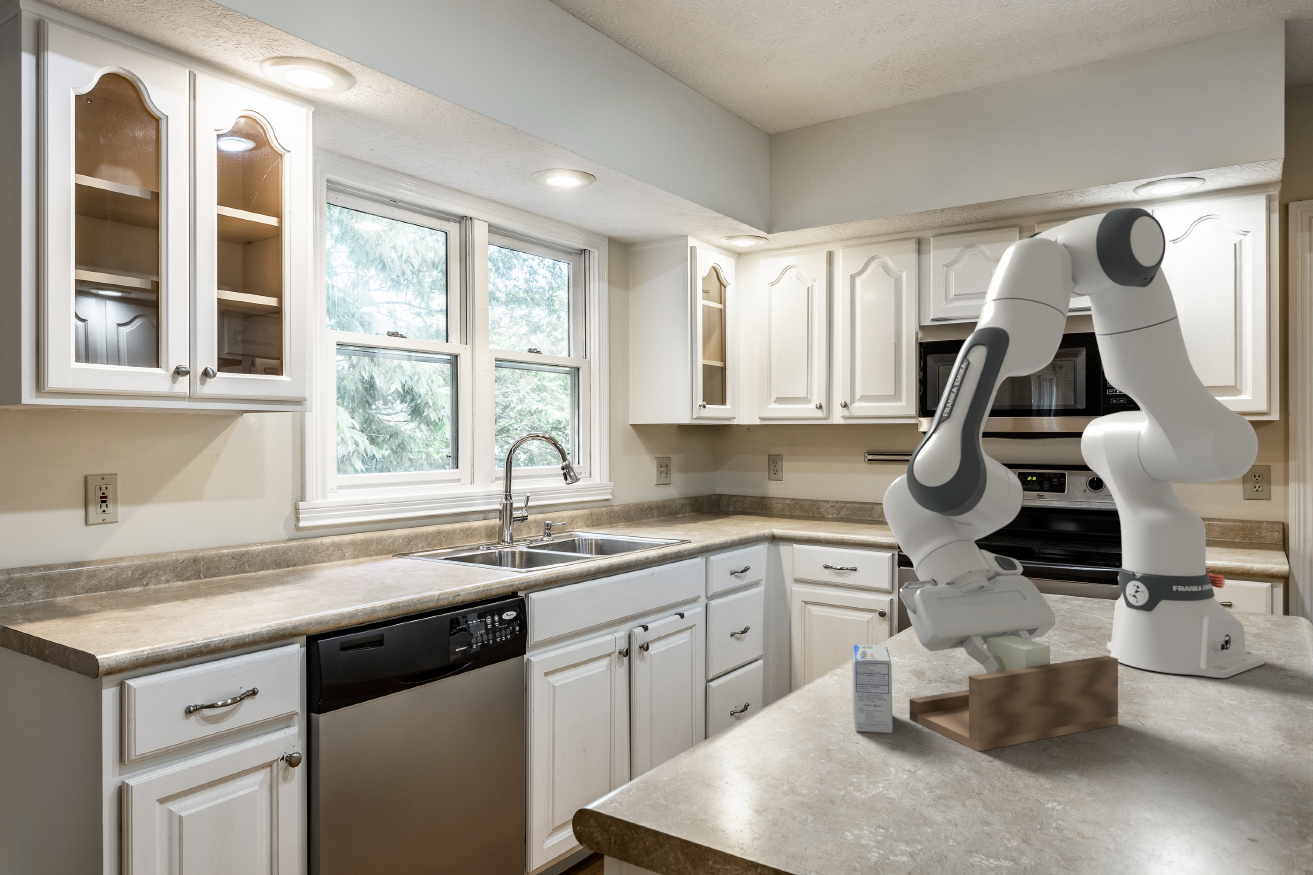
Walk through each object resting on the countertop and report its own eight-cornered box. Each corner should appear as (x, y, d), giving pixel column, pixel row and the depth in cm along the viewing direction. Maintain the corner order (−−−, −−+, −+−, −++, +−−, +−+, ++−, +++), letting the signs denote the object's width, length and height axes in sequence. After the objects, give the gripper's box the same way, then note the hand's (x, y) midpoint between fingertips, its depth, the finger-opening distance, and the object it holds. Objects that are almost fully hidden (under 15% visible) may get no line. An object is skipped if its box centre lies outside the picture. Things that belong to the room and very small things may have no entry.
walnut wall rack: (1040, 696, 112) (1040, 637, 112) (1118, 724, 101) (1118, 658, 101) (909, 718, 103) (909, 654, 103) (978, 751, 92) (978, 679, 92)
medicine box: (892, 735, 98) (892, 661, 98) (853, 732, 99) (853, 659, 99) (887, 713, 105) (887, 644, 105) (851, 710, 106) (851, 643, 106)
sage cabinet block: (1010, 698, 105) (1010, 634, 105) (1050, 712, 99) (1050, 645, 99) (986, 702, 103) (986, 637, 103) (1025, 717, 98) (1025, 649, 98)
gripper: (905, 568, 105) (962, 666, 96) (1027, 559, 112) (1090, 648, 104) (883, 598, 109) (935, 694, 100) (1001, 586, 117) (1060, 674, 108)
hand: (1015, 670), depth 102 cm, fingers closed on sage cabinet block, 4 cm apart
